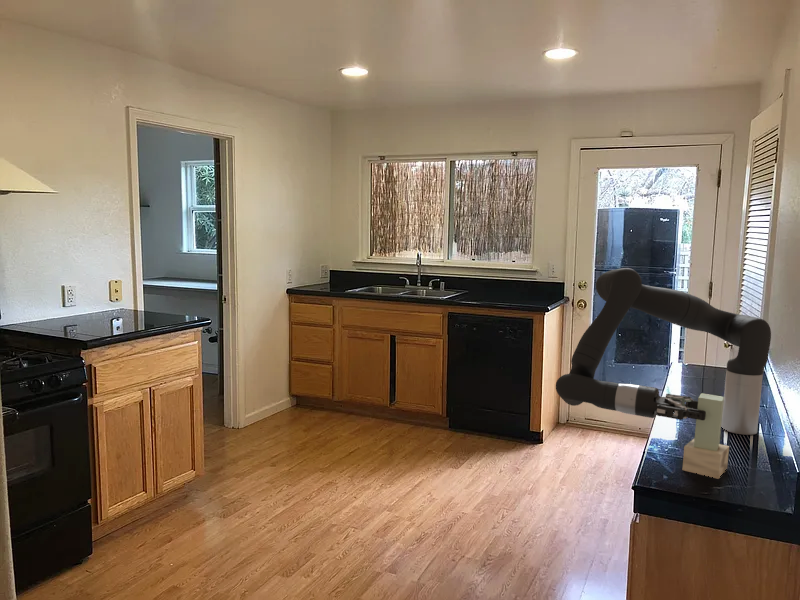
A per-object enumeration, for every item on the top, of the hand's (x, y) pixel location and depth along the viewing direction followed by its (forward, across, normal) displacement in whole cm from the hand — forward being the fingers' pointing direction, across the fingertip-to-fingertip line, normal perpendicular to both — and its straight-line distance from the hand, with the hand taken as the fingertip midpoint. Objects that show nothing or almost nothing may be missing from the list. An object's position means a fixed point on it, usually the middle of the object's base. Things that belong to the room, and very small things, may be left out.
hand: (707, 411), depth 155 cm
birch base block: (0, 0, +14) cm, 14 cm away
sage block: (0, 0, +8) cm, 8 cm away
